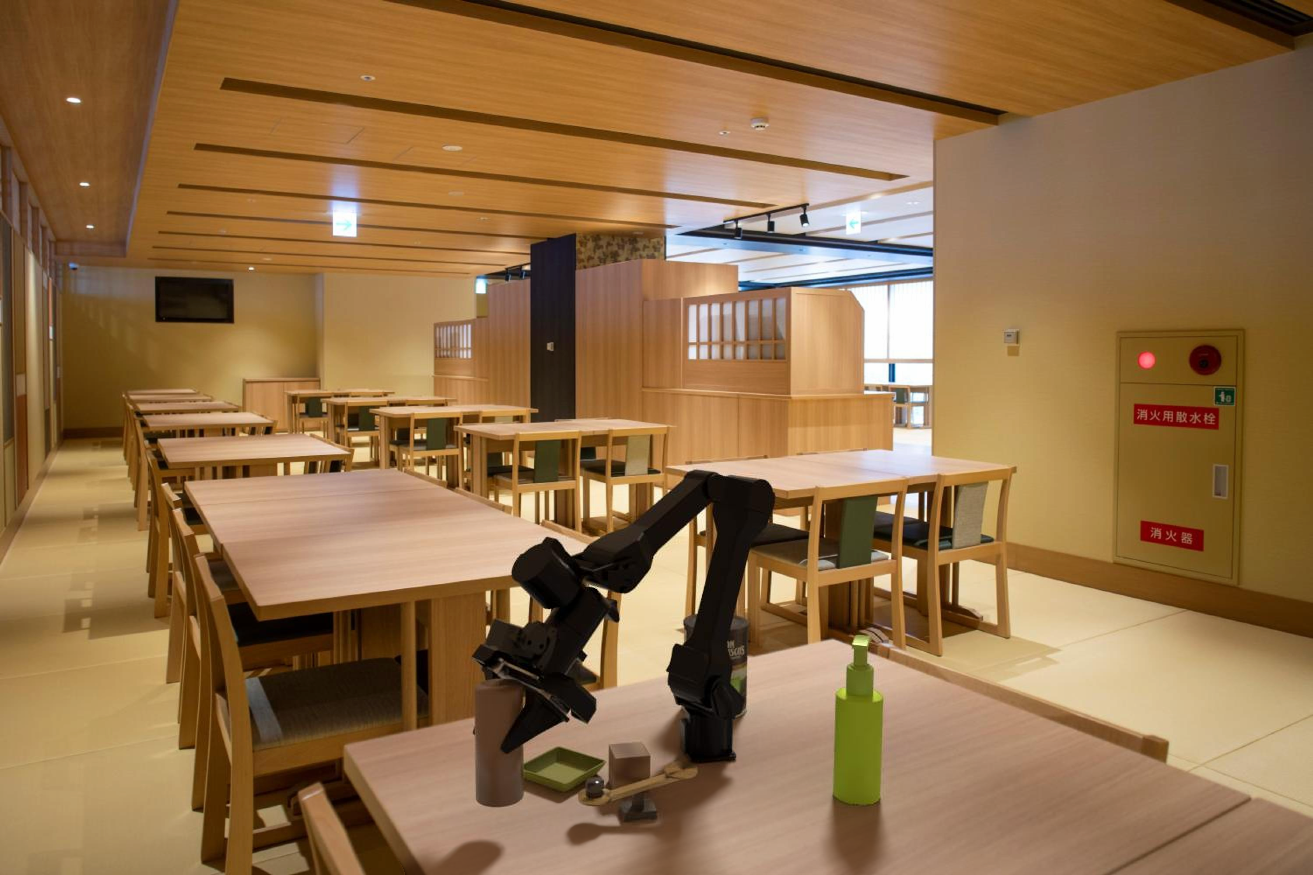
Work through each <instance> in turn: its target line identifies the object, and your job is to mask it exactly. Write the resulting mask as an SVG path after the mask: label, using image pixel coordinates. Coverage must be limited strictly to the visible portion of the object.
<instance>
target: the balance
mask: <svg viewBox="0 0 1313 875" xmlns="http://www.w3.org/2000/svg"><path fill="white" fill-rule="evenodd" d="M697 775H698V767H697V765H695V764H694V763H693V762H688V761H682V760H681V761H680V760H679V761H673V762H668V763H667V764H666V765H665V766H664V773H663V774H660V775H656V776H653V777H650V778H649V779H646V780H643V781H640V782H636V783H633V784H630V785H627V786H623V787H620V788H617V789H614V790H612V789H611V790H609V789H607V788H605V780H604V779H603V778H601V777H594V776H593V777H591V778H589V779H587V780H586V781H585V787H584V788H583V789H581V790H580V791H579V792H578V794H577V799H578V800H577V801H578V802H579V803H580V804H581V805H584V806H587V807H601V806H605V805H608V804H609V803H610V802H613V801H616V800H619V799H622V798H626V797H629V796H631V797H632V798H631V801H629V800H628V801H620V802H619V809H618V811H619V813H620V815H621V817H622V820H623V822H624V823H628V822H638V821H646V820H657V819H658V810H657V807H656V805H655V803H654V802H653V799H652V798H650V799H645V794H644V791H645V790H649V789H650V790H652V789H655V788H658V787H661V786H663V785H664V786H665V785H668V784H671V783H674V782H677V781H680V780H690V779H692V778H695V777H696V776H697Z"/></svg>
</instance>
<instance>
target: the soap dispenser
mask: <svg viewBox="0 0 1313 875" xmlns="http://www.w3.org/2000/svg"><path fill="white" fill-rule="evenodd" d="M872 639H873V636H872V635H871V636H870V635H864V634H856V635H854V638H853V640H852V643H851V649H852V650H853V662H850V663H849V664H847V665H846V667H845V668H846V674H845V678H846V679H845V687H841V688H839V689H836V691H835V699H834V700H835V705H834V706H835V707H834V709H835V711H834V736H833V737H834V739H833V740H834V741H833V742H834V745H833V776H832V777H833V778H832V779H833V782H832V794H833V796H834V797H835V798H836V799H837V800H838V801H841V802H843V803H846V804H849V805H853V804H855V805H854V806H857V805H856V804H859V805H858V806H866V805H865V804H870V805H873V804H872V803H874V804H876V803H878V802H879V801H880V800H879V799H881V790H882V788H881V787H882V786H881V784H882V752H883V750H882V749H883V728H884V727H883V724H884V723H883V722H884V721H883V720H884V694H882V693H881V692H880V691H878V690H876V689H874V680H875V678H874V677H875V668H874V667H873V666H872V665H871V664H869V663H868V651H869V646H870V643H871V641H872ZM877 801H878V802H877ZM875 802H876V803H875ZM863 804H864V805H863Z"/></svg>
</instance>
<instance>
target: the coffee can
mask: <svg viewBox="0 0 1313 875" xmlns="http://www.w3.org/2000/svg"><path fill="white" fill-rule="evenodd" d="M696 617H697V613H695V614H694V613H693V614H691V615H689V616H686V617H685V618H684V619H682V620H683V621H682V622H683V623H682V625H683V643H684V642H685V641H686V640H687V639H688V638H689V637H690V636H691V635H692V632H693V629H694V625H695V621H696ZM749 628H750V621H749V620H748V619H746V618H745V617H744V616H740V615H736V614H734V616H733V620H732V624H731V628H730V632H729V636H728V641H727V646H728V650H729V654H730V658H731V662H732V674H731V682H730V683H731V684H732V685H733V687H734V688H735V689H736V690H737V691H738V692H739V693H740V694H741V695H742V696H743V697H744V699H745V701H744V705H743V709H742V713H741V714H739V715H736V717H735V719H736V718H739V717H742V716H743V715H745V714H746V712H747V710H748V708H747V702H748V701H747V695H748V690H747V689H748V657H749V656H748V655H749V654H748V653H749V651H748V650H749V648H748V647H749V645H748V644H749ZM681 707H682V710H683V711H684V707H683V706H681Z"/></svg>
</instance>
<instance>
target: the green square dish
mask: <svg viewBox="0 0 1313 875" xmlns="http://www.w3.org/2000/svg"><path fill="white" fill-rule="evenodd" d="M605 764H607V760H606V759H603V758H599V757H598V756H593V755H590V754H587V753H583V752H580V751H577V750H573V749H570V748H568V747H564V746H561V745H560V746H559V745H558V746H555V747H553V748H550V749H548V750H547V751H545V752H543V753H541V754H539V755H537V756H535V757H533V758H531V759H529V760H527V761H524V778H525V779H526V780H527V781H530V782H533V783H537V784H539V785H542V786H546V787H548V788H551V789H554V790H556V791H559V792H563V793H565V792H568V791H570V790H571V789H573V788H575V787H577V786H579V785H580V784H582V783H584V782H586V780H587V779H589V778H594V776H596V775H597V774H598V773H599V772H600V771H601V770H602V768H604V766H605Z"/></svg>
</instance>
